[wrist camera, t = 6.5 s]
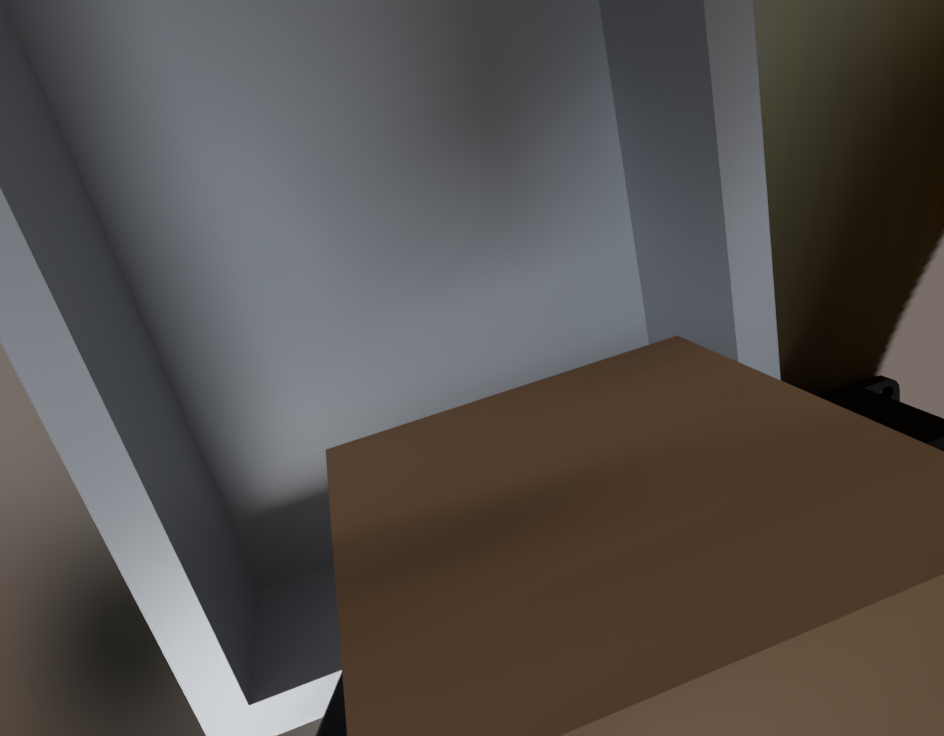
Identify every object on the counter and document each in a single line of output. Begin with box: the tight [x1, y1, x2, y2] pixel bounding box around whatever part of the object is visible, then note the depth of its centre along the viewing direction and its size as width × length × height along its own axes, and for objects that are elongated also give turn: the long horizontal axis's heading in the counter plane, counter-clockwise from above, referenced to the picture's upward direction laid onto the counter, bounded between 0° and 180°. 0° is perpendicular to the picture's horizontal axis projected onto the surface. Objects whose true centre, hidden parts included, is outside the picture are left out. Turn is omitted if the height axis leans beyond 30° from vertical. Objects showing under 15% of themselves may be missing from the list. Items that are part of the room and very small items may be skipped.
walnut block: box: [325, 335, 944, 736], centre depth 7 cm, size 5×5×5 cm
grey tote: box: [0, 0, 781, 736], centre depth 13 cm, size 22×14×5 cm, turn 14°
